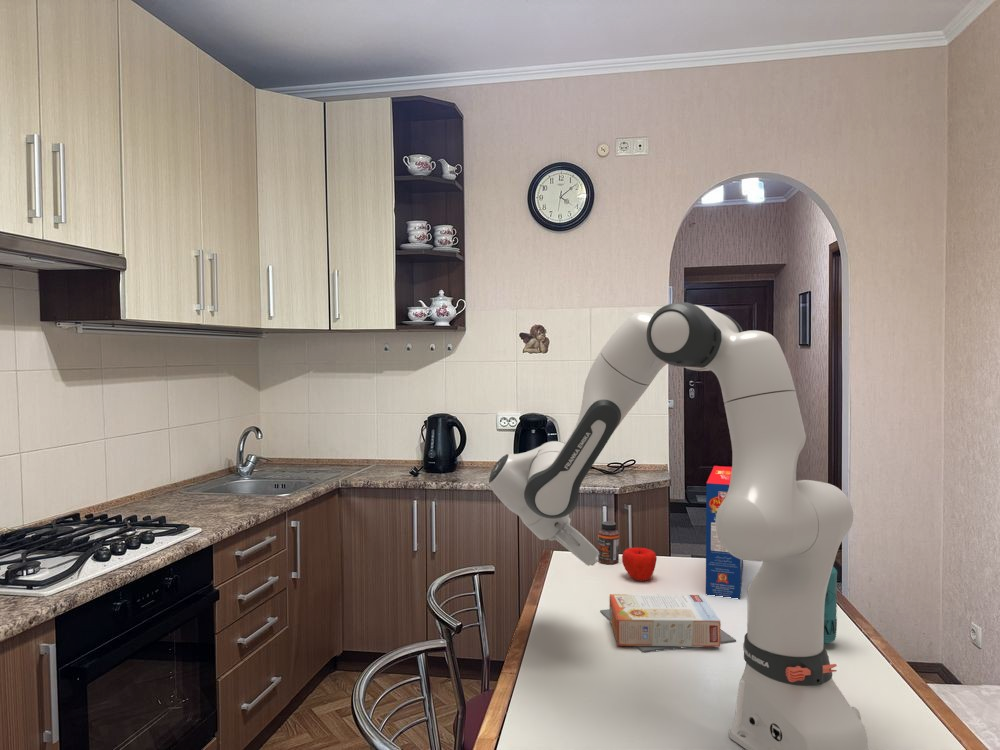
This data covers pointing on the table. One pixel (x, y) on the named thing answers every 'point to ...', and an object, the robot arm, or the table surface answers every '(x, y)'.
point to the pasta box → (719, 562)
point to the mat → (724, 639)
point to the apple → (639, 563)
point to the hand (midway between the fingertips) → (592, 561)
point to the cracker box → (664, 620)
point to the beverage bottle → (830, 608)
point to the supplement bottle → (608, 543)
